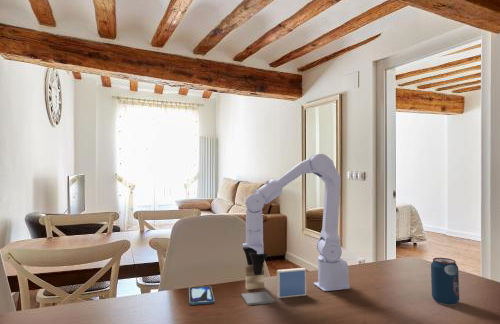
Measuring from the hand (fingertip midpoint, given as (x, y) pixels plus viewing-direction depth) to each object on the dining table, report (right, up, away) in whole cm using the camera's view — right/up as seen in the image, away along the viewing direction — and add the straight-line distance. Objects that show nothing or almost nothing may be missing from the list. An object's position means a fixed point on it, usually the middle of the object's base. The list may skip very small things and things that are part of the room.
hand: (254, 271), depth 111 cm
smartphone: (-17, -6, -7) cm, 19 cm away
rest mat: (+1, -5, -10) cm, 12 cm away
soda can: (+55, -5, -14) cm, 57 cm away
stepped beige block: (0, -5, 0) cm, 5 cm away
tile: (+11, -5, -8) cm, 15 cm away
